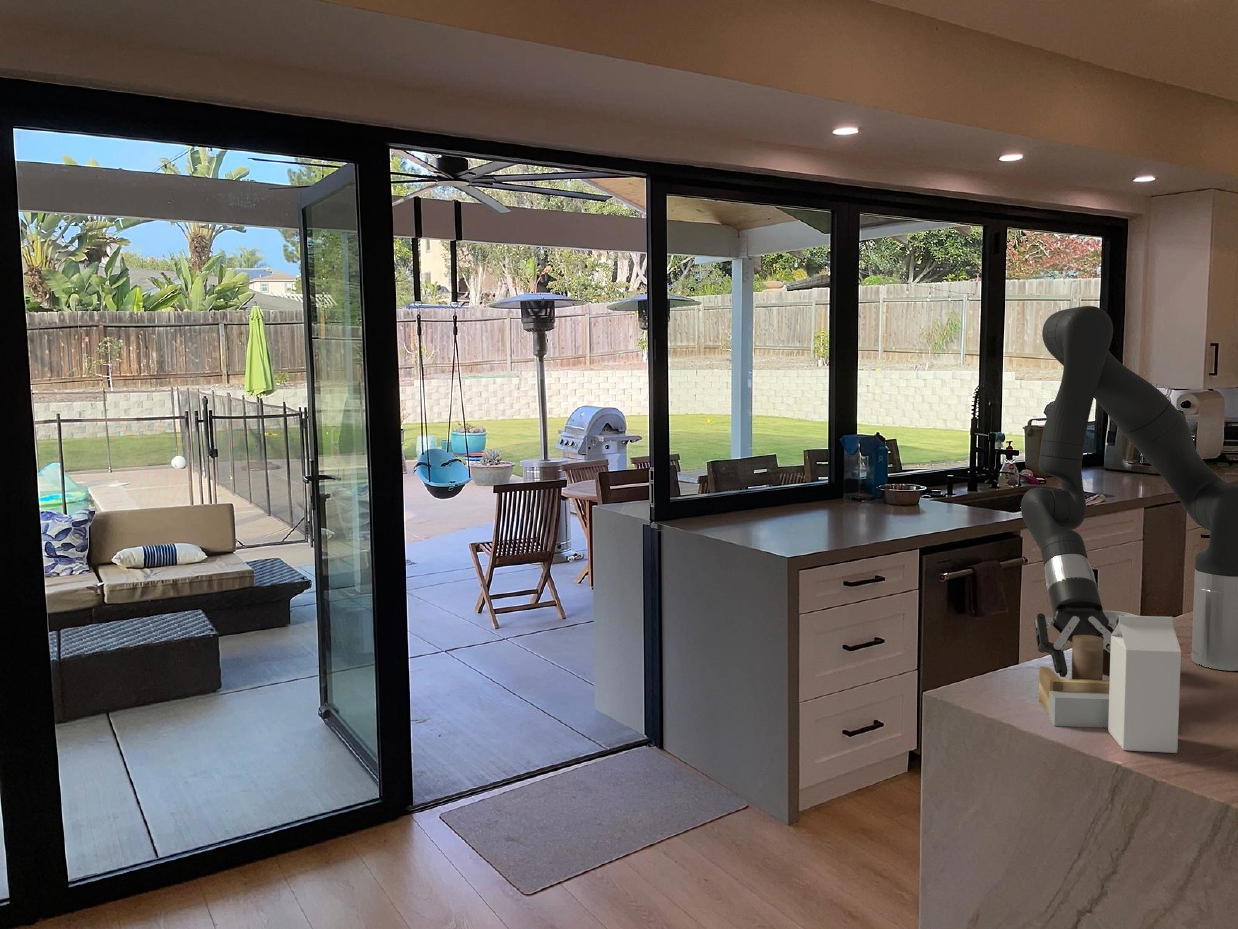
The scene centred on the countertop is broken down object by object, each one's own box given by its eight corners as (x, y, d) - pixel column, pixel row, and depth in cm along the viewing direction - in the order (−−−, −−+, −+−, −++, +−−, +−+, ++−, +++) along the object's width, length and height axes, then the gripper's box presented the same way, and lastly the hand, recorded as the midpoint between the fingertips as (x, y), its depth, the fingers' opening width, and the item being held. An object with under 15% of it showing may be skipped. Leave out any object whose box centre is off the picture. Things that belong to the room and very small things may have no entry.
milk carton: (1177, 754, 133) (1182, 624, 131) (1123, 751, 134) (1127, 622, 132) (1159, 734, 139) (1163, 610, 138) (1107, 732, 141) (1111, 609, 139)
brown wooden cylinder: (1096, 707, 151) (1098, 634, 150) (1105, 717, 147) (1107, 642, 146) (1067, 706, 152) (1068, 634, 151) (1075, 716, 148) (1077, 642, 146)
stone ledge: (1144, 721, 144) (1145, 693, 144) (1152, 729, 142) (1153, 700, 141) (1048, 718, 147) (1049, 690, 146) (1054, 725, 144) (1055, 697, 143)
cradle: (1123, 704, 152) (1124, 668, 151) (1141, 721, 145) (1142, 684, 144) (1038, 701, 154) (1039, 666, 153) (1052, 718, 147) (1053, 681, 146)
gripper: (1031, 575, 155) (1050, 663, 145) (1123, 576, 153) (1148, 666, 143) (1022, 598, 161) (1040, 685, 151) (1111, 599, 159) (1134, 687, 149)
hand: (1093, 675), depth 147 cm, fingers open, 8 cm apart
